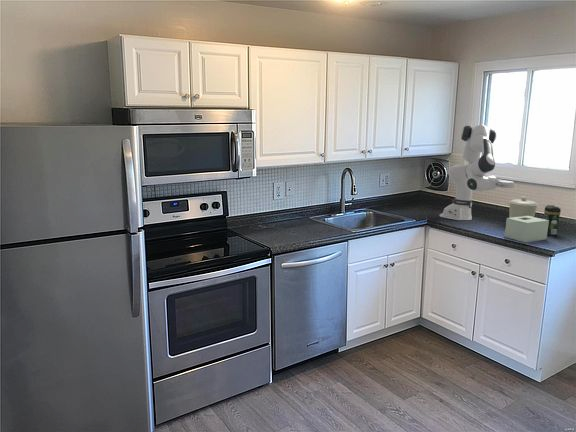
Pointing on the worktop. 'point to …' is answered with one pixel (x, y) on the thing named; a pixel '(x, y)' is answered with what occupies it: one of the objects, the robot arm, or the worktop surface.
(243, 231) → the worktop surface
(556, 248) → the worktop surface
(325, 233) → the worktop surface
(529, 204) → the canister
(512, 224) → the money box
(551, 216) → the coffee jar
